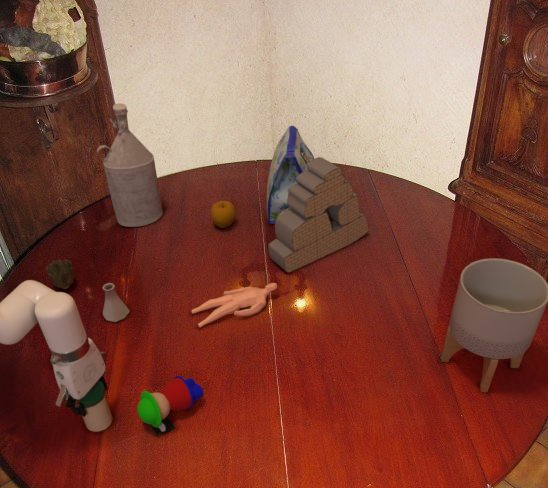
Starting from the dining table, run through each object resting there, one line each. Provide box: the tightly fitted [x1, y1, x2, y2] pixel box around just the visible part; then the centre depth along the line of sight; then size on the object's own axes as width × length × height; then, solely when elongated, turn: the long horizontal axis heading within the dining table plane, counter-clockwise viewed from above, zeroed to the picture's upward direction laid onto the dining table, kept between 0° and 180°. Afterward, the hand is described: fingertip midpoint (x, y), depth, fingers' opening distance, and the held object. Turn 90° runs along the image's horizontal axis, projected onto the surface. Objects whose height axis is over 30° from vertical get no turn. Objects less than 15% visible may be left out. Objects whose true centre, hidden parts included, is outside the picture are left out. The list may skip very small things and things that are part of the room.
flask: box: [102, 282, 131, 323], centre depth 155 cm, size 7×7×10 cm
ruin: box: [267, 156, 370, 273], centre depth 169 cm, size 34×10×30 cm, turn 125°
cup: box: [45, 258, 75, 292], centre depth 165 cm, size 8×7×8 cm
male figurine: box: [191, 282, 278, 329], centre depth 157 cm, size 11×5×25 cm
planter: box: [440, 257, 548, 393], centre depth 132 cm, size 19×19×26 cm
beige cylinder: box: [81, 395, 114, 433], centre depth 127 cm, size 6×6×10 cm
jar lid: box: [72, 380, 106, 408], centre depth 124 cm, size 7×7×2 cm
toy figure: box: [137, 375, 204, 437], centre depth 129 cm, size 9×10×15 cm
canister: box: [96, 103, 164, 228], centre depth 182 cm, size 13×17×40 cm
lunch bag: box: [266, 125, 315, 225], centre depth 188 cm, size 22×17×26 cm
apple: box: [210, 200, 237, 229], centre depth 187 cm, size 9×8×9 cm
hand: (91, 400), depth 126 cm, fingers closed on jar lid, 7 cm apart
